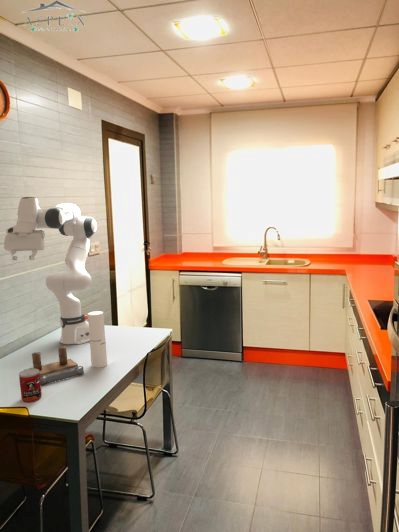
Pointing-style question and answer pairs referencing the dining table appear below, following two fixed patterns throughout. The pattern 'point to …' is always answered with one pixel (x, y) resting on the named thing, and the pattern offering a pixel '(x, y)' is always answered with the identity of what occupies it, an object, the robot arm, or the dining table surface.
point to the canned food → (30, 385)
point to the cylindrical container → (97, 339)
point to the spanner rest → (53, 367)
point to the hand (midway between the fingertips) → (22, 260)
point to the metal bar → (61, 375)
